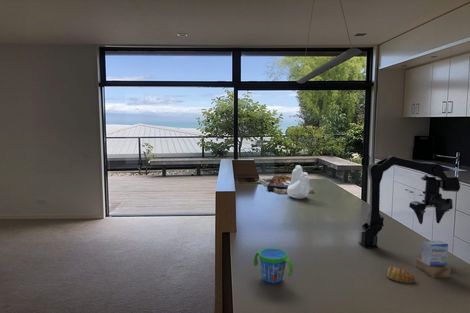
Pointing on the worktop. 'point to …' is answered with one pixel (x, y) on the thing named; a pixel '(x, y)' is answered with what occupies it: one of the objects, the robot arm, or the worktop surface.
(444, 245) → the medicine box
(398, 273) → the pastry
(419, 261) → the walnut pedestal block
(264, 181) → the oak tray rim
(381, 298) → the worktop surface
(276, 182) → the food platter
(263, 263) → the snack cup
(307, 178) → the decorative rooster
